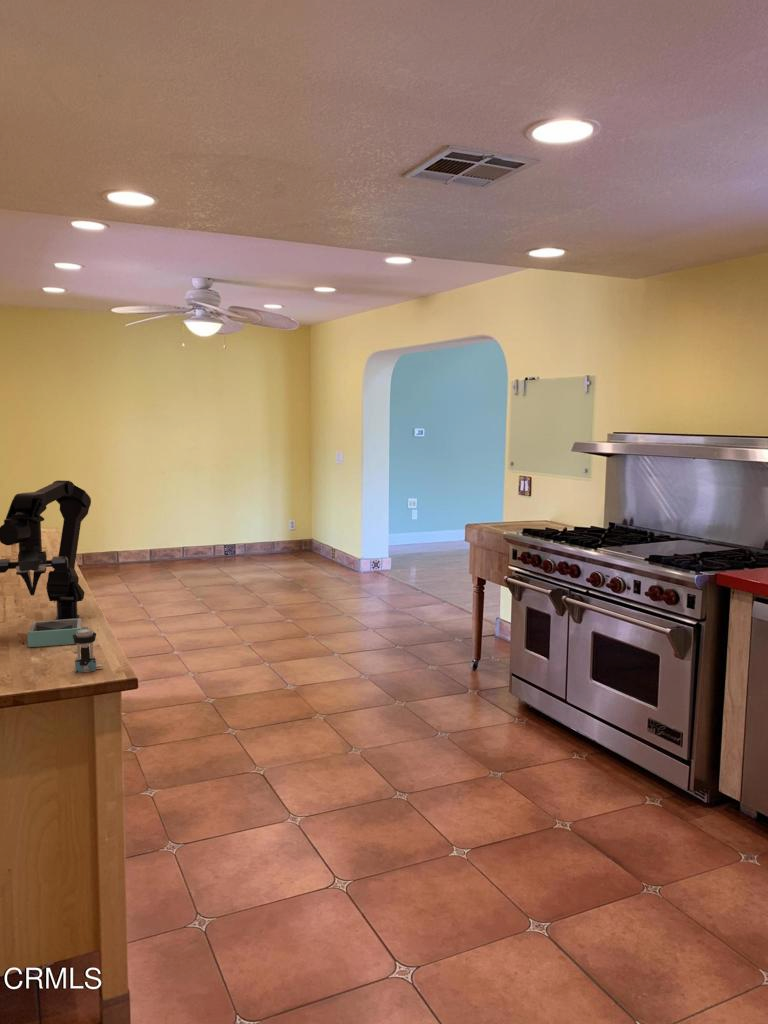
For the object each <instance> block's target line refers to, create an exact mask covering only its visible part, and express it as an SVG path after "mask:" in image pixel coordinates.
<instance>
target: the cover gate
mask: <svg viewBox="0 0 768 1024" xmlns="http://www.w3.org/2000/svg"><path fill="white" fill-rule="evenodd" d="M78 630H81V628H73V629H59V630H46V631H32V632H29V631H27V632H26V633H27V634H26V635H27V648H35V647H36V648H37V647H49V646H60V645H63V646H64V645H73V644H74V645H75V644H76V645H77V643H75V642H74V638H73V635H74V634H76V632H77V631H78Z"/></svg>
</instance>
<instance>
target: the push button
mask: <svg viewBox="0 0 768 1024" xmlns="http://www.w3.org/2000/svg"><path fill="white" fill-rule="evenodd" d="M96 637H97V633H96V632H95V631H93V629H91V628H88V629H83V628H82V629H81V630H78V631H77V632H76V634H74V635H73V638H74V642H75V643H76V655H77V657H76V659H75V661H74V666H75V667H74V668H75V670H74V671H75V673H76V674H79V673H80V674H81V673H89V672H96V671H97V669H99V668H104V666H103V665H101V664H104V662H97V659H96V657H95V656H94V642H95V641H96ZM97 665H99V666H97Z"/></svg>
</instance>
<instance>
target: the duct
mask: <svg viewBox="0 0 768 1024" xmlns="http://www.w3.org/2000/svg"><path fill="white" fill-rule="evenodd" d="M50 621H54V622H59V623H65V624H70V625H72V629H73V628H81V629H89V626H83V624H82V622H83V621H82V618H81V617H79V618H78V619H64V620H56V619H54V620H53V619H52V620H51V619H50V620H42V621H41V620H40V621H39V620H38V621H37V620H36V621H31V622H32V623H31V625H30V629H29V631H28V632H32V631H37V625H40V624H43V623H47V622H50Z"/></svg>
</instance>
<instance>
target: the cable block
mask: <svg viewBox="0 0 768 1024" xmlns="http://www.w3.org/2000/svg"><path fill="white" fill-rule="evenodd" d="M49 621H50V620H49ZM59 629H72V625H70V624H65V623H59V622H54V621H50V622H47V623H43V624H40V625H37V631H46V630H59Z"/></svg>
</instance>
